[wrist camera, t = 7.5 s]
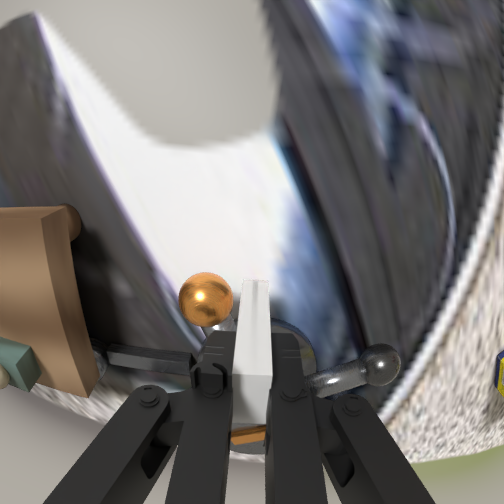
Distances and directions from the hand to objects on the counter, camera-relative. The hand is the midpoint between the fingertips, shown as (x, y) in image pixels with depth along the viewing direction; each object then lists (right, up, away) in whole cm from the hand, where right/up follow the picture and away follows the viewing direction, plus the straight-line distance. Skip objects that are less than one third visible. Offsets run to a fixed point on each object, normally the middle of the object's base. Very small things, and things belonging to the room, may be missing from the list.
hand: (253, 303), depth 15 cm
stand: (-18, +1, +2) cm, 19 cm away
